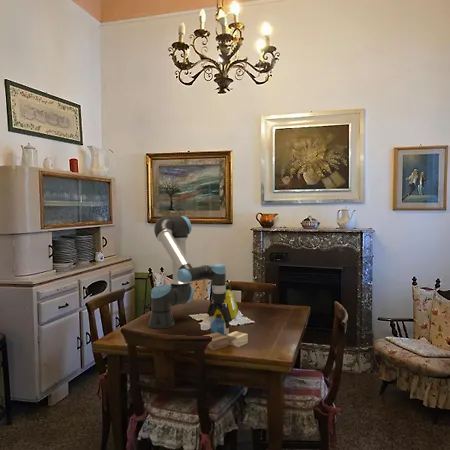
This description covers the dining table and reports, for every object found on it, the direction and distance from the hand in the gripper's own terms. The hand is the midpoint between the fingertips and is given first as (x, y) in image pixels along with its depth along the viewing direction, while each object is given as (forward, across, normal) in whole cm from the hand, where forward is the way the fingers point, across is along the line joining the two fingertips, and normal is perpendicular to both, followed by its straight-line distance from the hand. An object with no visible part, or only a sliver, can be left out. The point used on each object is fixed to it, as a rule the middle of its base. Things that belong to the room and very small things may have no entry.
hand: (219, 330), depth 235 cm
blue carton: (+3, 0, 0) cm, 3 cm away
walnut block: (+4, +11, -10) cm, 15 cm away
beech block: (+4, +15, +1) cm, 15 cm away
